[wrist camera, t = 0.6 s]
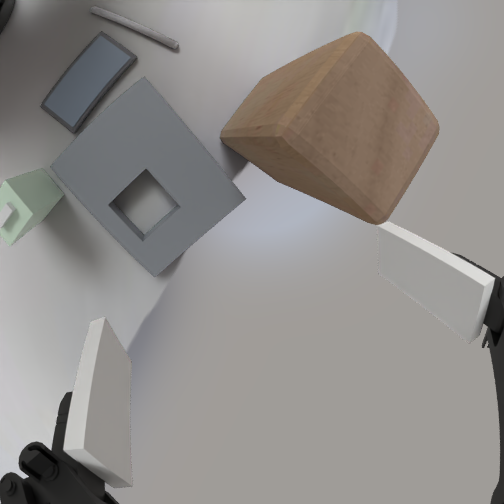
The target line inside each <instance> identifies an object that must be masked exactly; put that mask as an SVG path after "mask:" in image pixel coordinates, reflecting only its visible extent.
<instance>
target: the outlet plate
mask: <svg viewBox="0 0 504 504" xmlns="http://www.w3.org/2000/svg"><path fill="white" fill-rule="evenodd" d="M50 167H51V169H52V170H53V171H54V172H55V173H56V175H57V176H58V177H59V178H60V179H61V180H62V182H63V183H64V184H65V185H66V186H67V187H68V188H69V190H70V191H71V192H72V193H73V194H74V195H75V196H76V197H77V199H78V200H79V201H80V202H81V203H82V204H83V205H84V206H85V207H86V209H87V210H88V211H89V212H90V213H91V214H92V215H93V216H94V217H95V218H96V219H97V220H98V221H99V222H100V224H101V225H102V226H103V227H104V228H105V229H106V230H107V231H108V232H109V233H110V234H111V235H112V236H113V237H114V238H115V239H116V240H117V241H118V242H119V243H120V244H121V245H122V246H123V247H124V248H125V249H126V250H127V251H128V252H129V253H130V254H131V255H132V256H133V257H134V258H135V259H136V260H137V261H138V262H139V263H140V264H141V265H142V266H143V267H144V268H145V269H146V270H147V271H148V272H149V273H150V274H151V275H152V276H153V277H156V276H157V275H158V274H159V273H161V272H162V271H163V270H164V269H165V268H166V267H167V266H168V265H170V264H171V263H172V262H173V261H174V260H175V259H176V258H177V257H179V256H180V255H181V254H182V253H183V252H184V251H185V250H187V249H188V248H189V247H190V246H191V245H192V244H193V243H195V242H196V241H197V240H198V239H199V238H200V237H202V236H203V235H204V234H205V233H206V232H207V231H208V230H210V229H211V228H212V227H213V226H214V225H216V224H217V223H218V222H219V221H220V220H221V219H223V218H224V217H225V216H226V215H227V214H229V213H230V212H231V211H232V210H234V209H235V208H236V207H237V206H238V205H239V204H241V203H242V202H243V201H244V200H245V199H246V198H245V197H244V196H243V194H242V193H241V192H240V191H239V189H238V188H237V187H236V186H235V184H234V183H233V182H232V181H231V179H230V178H229V177H228V176H227V174H226V173H225V172H224V171H223V170H222V168H221V167H220V166H219V165H218V163H217V162H216V161H215V160H214V158H213V157H212V156H211V155H210V154H209V152H208V151H207V150H206V149H205V147H204V146H203V145H202V144H201V143H200V141H199V140H198V139H197V138H196V137H195V135H194V134H193V133H192V132H191V131H190V129H189V128H188V127H187V126H186V125H185V123H184V122H183V121H182V120H181V119H180V117H179V116H178V115H177V114H176V113H175V112H174V110H173V109H172V108H171V107H170V106H169V104H168V103H167V102H166V101H165V100H164V99H163V97H162V96H161V95H160V94H159V93H158V92H157V90H156V89H155V88H154V87H153V86H152V85H151V83H150V82H149V81H148V80H147V79H146V78H145V76H144V77H143V78H141V79H140V80H139V81H138V82H136V83H135V84H134V85H133V86H131V87H130V88H129V89H128V90H127V91H126V92H124V93H123V94H122V95H121V96H120V97H119V98H117V99H116V100H115V101H114V102H113V103H112V104H111V105H109V106H108V107H107V108H106V109H105V110H104V111H103V112H102V113H101V114H100V115H99V116H98V117H97V118H96V119H94V120H93V121H92V122H91V123H90V124H89V125H88V126H87V127H86V128H85V129H84V130H83V131H82V132H81V133H80V134H79V135H78V136H77V138H76V139H75V140H74V141H73V142H72V143H71V144H70V145H69V146H68V147H67V148H66V149H65V150H64V151H63V153H62V154H61V155H60V156H59V157H58V158H57V159H56V160H55V162H54V163H53V164H52V165H51V166H50ZM145 169H147V170H148V171H149V172H150V173H151V174H152V176H153V177H154V178H155V179H156V180H157V181H158V182H159V183H160V185H161V186H162V187H163V188H164V189H165V190H166V191H167V192H168V194H169V195H170V196H171V197H172V198H173V199H174V200H175V201H176V203H177V204H178V205H177V206H176V207H175V208H174V209H173V210H172V211H170V212H169V213H168V214H167V215H166V216H165V217H164V218H163V219H162V220H160V221H159V222H158V223H157V224H156V225H155V226H154V227H153V228H152V229H151V230H150V231H148V232H147V233H146V234H145V235H143V233H142V232H141V231H140V230H139V229H138V228H137V227H136V226H135V225H134V224H133V223H132V222H131V221H130V220H129V219H128V218H127V217H126V216H125V215H124V213H123V212H122V211H121V210H120V209H119V208H118V207H117V206H116V205H115V204H114V203H113V202H112V200H113V199H114V198H115V197H116V196H117V195H118V194H120V193H121V192H122V191H123V190H124V189H125V188H126V187H127V186H128V185H129V184H130V183H131V182H132V181H133V180H134V179H135V178H136V177H137V176H138V175H140V174H141V173H142V172H143V171H144V170H145Z"/></svg>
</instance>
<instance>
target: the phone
mask: <svg viewBox="0 0 504 504" xmlns="http://www.w3.org/2000/svg"><path fill="white" fill-rule="evenodd" d="M136 59H137V56H136V55H134V54H133V53H132V52H130V51H129V50H128V49H126V48H125V47H123V46H122V45H121V44H119V43H118V42H117V41H115V40H114V39H112V38H111V37H109V36H108V35H107V34H105V33H104V32H102V31H101V32H100V33H99V34H98V35H97V36H96V37H95V38H94V39H93V40H92V41H91V43H90V44H89V45H88V46H87V47H86V48H85V49H84V50H83V51H82V52H81V54H80V55H79V56H78V57H77V58H76V59H75V61H74V62H73V63H72V64H71V65H70V67H69V68H68V69H67V70H66V71H65V73H64V74H63V75H62V77H61V78H60V79H59V80H58V82H57V83H56V84H55V86H54V87H53V88H52V90H51V91H50V92H49V94H48V95H47V97H46V98H45V99H44V101H43V102H42V104H41V105H40V107H41V108H43V109H44V110H45V111H46V112H48V113H49V114H50V115H51V116H52V117H54V118H55V119H56V120H57V121H59V122H60V123H61V124H62V125H64V126H65V127H66V128H67V129H69V130H70V131H71V132H72V133H75V132H76V131H77V130H78V128H79V127H80V126H81V124H82V123H83V121H84V120H85V119H86V117H87V116H88V115H89V113H90V112H91V111H92V110H93V108H94V107H95V106H96V105H97V103H98V102H99V101H100V100H101V98H102V97H103V96H104V95H105V93H106V92H107V91H108V90H109V89H110V88H111V86H112V85H113V84H114V83H115V82H116V81H117V79H118V78H119V77H120V76H121V75H122V74H123V73H124V72H125V71H126V70H127V68H128V67H129V66H130V65H131V64H132V63H133V62H134V61H135V60H136Z"/></svg>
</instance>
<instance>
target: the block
mask: <svg viewBox="0 0 504 504" xmlns="http://www.w3.org/2000/svg"><path fill="white" fill-rule="evenodd" d="M438 134H439V124H438V121H437V119H436V118H435V116H434V115H433V113H432V112H431V110H430V109H429V107H428V106H427V105H426V103H425V102H424V100H423V99H422V98H421V96H420V95H419V94H418V92H417V91H416V90H415V88H414V87H413V86H412V84H411V83H410V82H409V81H408V79H407V78H406V77H405V76H404V75H403V73H402V72H401V71H400V69H399V68H398V67H397V66H396V65H395V64H394V62H393V61H392V60H391V59H390V58H389V57H388V55H387V54H386V53H385V52H384V51H383V50H382V49H381V48H380V47H379V46H378V44H377V43H376V42H375V41H374V40H373V39H372V38H371V37H370V36H368V35H366V34H364V33H363V32H354V33H351V34H348V35H346V36H344V37H342V38H339V39H337V40H335V41H333V42H330V43H328V44H326V45H324V46H322V47H320V48H318V49H316V50H314V51H312V52H310V53H308V54H306V55H304V56H302V57H300V58H298V59H296V60H294V61H292V62H290V63H288V64H287V65H285V66H283V67H281V68H279V69H277V70H276V71H274V72H272V73H270V74H269V75H267V76H265V77H263V78H262V79H261V80H260V81H259V83H258V84H257V85H256V86H255V88H254V89H253V90H252V91H251V93H250V94H249V95H248V97H247V98H246V99H245V100H244V102H243V103H242V104H241V106H240V107H239V108H238V109H237V111H236V112H235V113H234V115H233V116H232V117H231V119H230V120H229V121H228V123H227V124H226V125H225V127H224V128H223V130H222V131H221V135H220V138H221V140H222V142H223V143H224V144H226V145H227V146H228V147H230V148H231V149H233V150H234V151H236V152H237V153H239V154H240V155H241V156H243V157H244V158H246V159H247V160H248V161H250V162H251V163H253V164H254V165H255V166H257V167H259V169H261V170H262V171H264V172H265V173H266V174H268V175H269V176H271V177H272V178H273V179H274V180H276V181H277V182H279V183H282V184H284V185H286V186H289V187H291V188H293V189H296V190H298V191H300V192H303V193H305V194H307V195H310V196H312V197H314V198H316V199H318V200H321V201H323V202H325V203H327V204H330V205H332V206H334V207H336V208H338V209H340V210H342V211H344V212H347V213H349V214H351V215H353V216H355V217H357V218H359V219H361V220H363V221H365V222H367V223H371V224H375V225H380V224H382V223H384V222H385V221H386V220H387V219H388V218H389V217H390V215H391V213H392V212H393V210H394V208H395V207H396V206H397V204H398V203H399V201H400V199H401V198H402V196H403V194H404V193H405V191H406V190H407V188H408V186H409V185H410V183H411V181H412V179H413V178H414V177H415V175H416V173H417V172H418V170H419V168H420V166H421V165H422V163H423V161H424V159H425V158H426V156H427V154H428V152H429V151H430V149H431V147H432V145H433V143H434V142H435V140H436V138H437V136H438Z"/></svg>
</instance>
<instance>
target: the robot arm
mask: <svg viewBox="0 0 504 504" xmlns="http://www.w3.org/2000/svg"><path fill="white" fill-rule="evenodd" d="M14 1H15V0H0V33H1V32H2V30H3V28H4V26H5V25H6V23H7V21H8V19H9V17H10V14H11V12H12V9H13V5H14ZM377 237H378V274H380V275H381V276H382V277H383V278H385V279H386V280H387V281H389V282H390V283H392V284H393V285H394V286H396V287H397V288H398V289H400V290H401V291H402V292H404V293H405V294H406V295H408V296H409V297H410V298H412V299H413V300H414V301H416V302H417V303H418V304H419V305H421V306H422V307H423V308H425V309H426V310H427V311H429V312H430V313H431V314H432V315H434V316H435V317H436V318H437V319H439V320H440V321H441V322H443V323H444V324H445V325H446V326H448V327H449V328H450V329H451V330H453V331H454V332H455V333H456V334H457V335H459V336H460V337H461V338H462V339H464V340H465V341H466V342H467V343H471V342H472V341H473V340H474V339H476V338H477V337H478V336H479V335H480V333H481V329H482V326H483V323H484V324H485V325H486V326H488V328H487V331H486V334H485V337H484V340H483V343H482V348H484V346H485V344H486V341H488V343H489V344H488V346H487V347H488V348H490V353H491V358H492V364H493V370H494V377H495V384H496V392H497V400H498V411H499V424H500V477H499V482H498V484H497V487H496V489H495V490H494V492H493V495H492V499H491V504H504V277H502V278H500V277H498V276H497V275H495V274H493V273H491V272H490V271H488V270H486V269H484V268H483V267H481V266H479V265H476V263H474V262H472V261H469V260H468V259H466V258H465V257H463V256H461V255H458V254H454V253H450V252H448V251H446V250H444V249H442V248H441V247H439V246H437V245H435V244H433V243H431V242H429V241H427V240H425V239H423V238H421V237H419V236H417V235H415V234H413V233H411V232H409V231H407V230H405V229H403V228H401V227H399V226H397V225H395V224H393V223H390V222H389V221H388V222H385V223H383V224H380V225H377ZM131 368H132V361H131V360H130V358H129V357H128V355H127V353H126V352H125V350H124V348H123V347H122V345H121V343H120V342H119V340H118V338H117V337H116V335H115V333H114V332H113V330H112V328H111V326H110V325H109V323H108V321H107V319H106V317H103V318H100V319H97V320H93V321H91V322H90V325H89V329H88V332H87V336H86V340H85V343H84V347H83V351H82V355H81V359H80V363H79V367H78V371H77V375H76V380H75V384H74V389H73V392H68V393H66V394H65V396H64V398H63V399H62V401H61V403H60V406H59V411H58V416H57V421H56V424H57V425H56V426H55V432H54V438H53V444H52V450H50V449H48V448H47V447H46V446H45V445H44V444H43V443H40V442H32V443H30V444H28V445H27V446H26V447H25V448H24V449H23V450H22V452H21V454H20V456H19V467H20V470H21V471H22V472H24V473H25V474H26V475H28V476H29V477H28V478H25V479H23V478H21V477H20V476H18V475H17V474H16V473H12V472H10V473H7V474H5V475H4V476H3V477H2V479H1V481H0V500H1V504H119V503H118V502H117V501H116V500H115V499H114V498H113V497H112V496H111V495H110V494H109V493H108V492H106V491H105V482H106V483H107V484H109V485H110V486H112V487H113V488H122V487H132V486H133V480H132V464H131V437H130V397H131V394H130V393H131Z"/></svg>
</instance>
